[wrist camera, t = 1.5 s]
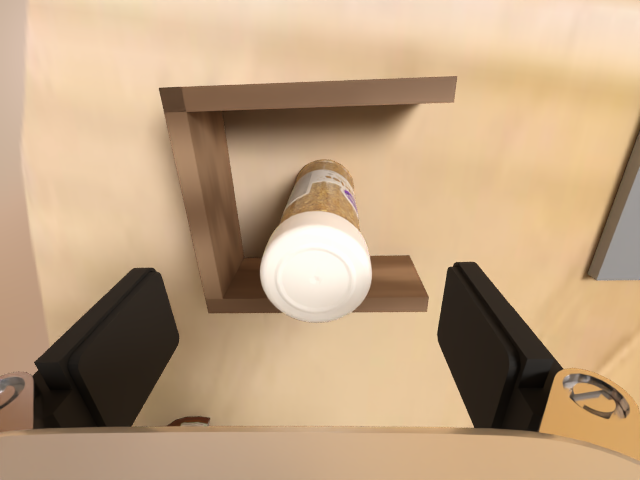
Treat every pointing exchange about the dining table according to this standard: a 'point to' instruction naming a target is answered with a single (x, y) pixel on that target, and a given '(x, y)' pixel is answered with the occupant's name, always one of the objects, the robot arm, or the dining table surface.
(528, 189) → the dining table surface
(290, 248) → the spice jar
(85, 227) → the dining table surface
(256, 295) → the shelf box
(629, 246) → the slate mat
